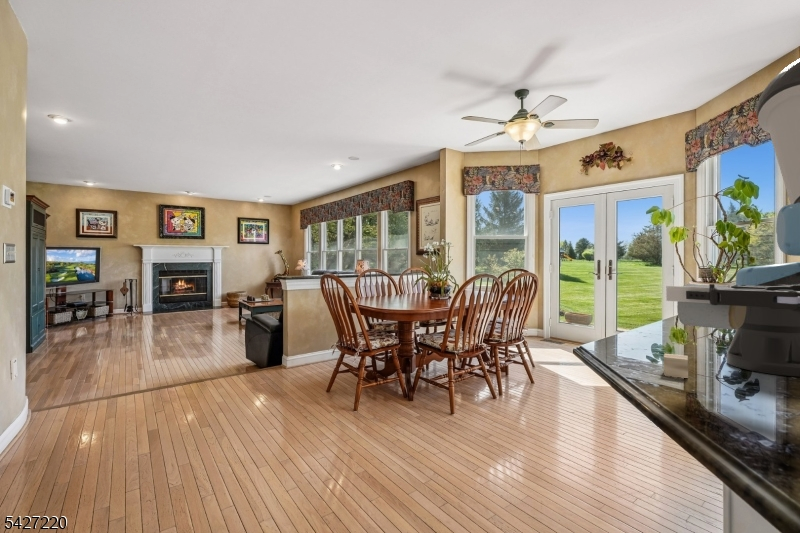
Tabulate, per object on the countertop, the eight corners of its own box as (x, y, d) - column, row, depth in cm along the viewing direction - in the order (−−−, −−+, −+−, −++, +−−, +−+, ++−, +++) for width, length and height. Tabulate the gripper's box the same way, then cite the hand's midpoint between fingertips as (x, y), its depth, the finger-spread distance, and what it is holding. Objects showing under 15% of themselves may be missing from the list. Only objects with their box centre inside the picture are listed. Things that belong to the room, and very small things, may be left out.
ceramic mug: (735, 332, 61) (734, 285, 61) (676, 326, 68) (675, 284, 68) (754, 327, 67) (754, 284, 67) (698, 322, 74) (698, 282, 74)
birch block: (664, 371, 81) (664, 353, 81) (688, 374, 79) (687, 355, 79) (663, 376, 78) (663, 356, 78) (688, 379, 76) (687, 359, 76)
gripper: (857, 336, 46) (651, 316, 65) (880, 320, 57) (699, 307, 76) (856, 275, 46) (651, 273, 65) (880, 271, 57) (698, 271, 76)
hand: (677, 292), depth 71 cm, fingers closed on ceramic mug, 7 cm apart
